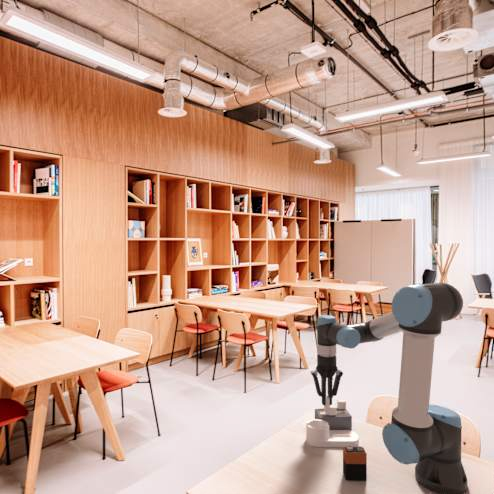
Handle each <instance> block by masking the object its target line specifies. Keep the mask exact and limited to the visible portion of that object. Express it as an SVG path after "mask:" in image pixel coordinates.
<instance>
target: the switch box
mask: <svg viewBox="0 0 494 494" xmlns="http://www.w3.org/2000/svg"><path fill="white" fill-rule="evenodd" d="M352 417H353V416H352V415H351V414H350V412H349V411H348V410H347V408H346V409H338V408H337V415H329V414H326V413H325V412H324V407H323V408H314V419H320V420H324V421H326V422H328V425H329V430H351V431H353V430H352V429H353V428H352V427H353V426H352V424H353V423H352V422H353V421H352V420H353V419H352Z"/></svg>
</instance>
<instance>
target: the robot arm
mask: <svg viewBox="0 0 494 494" xmlns="http://www.w3.org/2000/svg"><path fill="white" fill-rule="evenodd" d="M463 299H464V298H463V297H462V294H461V293H460V291H459V290H458V289H457V288H456V287H454V286H453V285H451V284H449V283H445V282H435V283H422V284H421V283H420V284H419V283H414V284H411V285H406V286H403V287H401V288H399V289H398V290H397V291H396V292H395V294H394V296H393V297H392V302H391V311H390V312H388V313H386V314H383V315H381V316H377V317H376V318H373V319H370V320H369V321H366V322H365V321H364V322H361V323H353V324H339V323H338V322H337V318H336V316H335V315H330V314H329V315H327V314H324V315H319V316H318V317H317V319H316V322H317V323H316V338H317V339H316V342H317V343H316V345H317V348H316V349H317V351H316V352H317V356H316V358H317V359H316V364H317V365H316V367H315V369H314V370H312V371H310V375H311V376H312V378H313V381H314V382H313V383H314V385H315V390H316V393H317V395H318V397H321V405H322V406H323V408H324V412H325V413H326V414H330V406H333V405H332V404H333V398H334V397H335V396H337V394H338V391H339V385H340V383H341V378H342V377H343V375H344V372H343V371H342V370H341V369H338V366H337V345H338V346H341V347H342V348H348V349H355V348H357V346H358V345H359V344H363V343H371V342H373V343H374V342H378V341H381V340H383V339H384V338H386V337H388V336H392V335H395V334H398V333H400V332H402V333H403V335H402V344H401V345H402V347H401V360H400V372H399V375H400V376H399V388H398V398H397V399H398V400H397V406H396V407H394V408H393V409H392V411H391V422H388V423H387V424H386V425H384V427H383V428H382V433H381V434H382V435H381V436H382V441H383V444H384V446H385V448H386V449H387V451H388V453H389V454H390V455H391V457H392V458H393V459H394V460H395V461H397V462H398V463H400V464H402V465H412V464H415V466H414V477H415V479H416V481H417V482H418V483H420V485H422V486H423V487H425V488H426V489H428V490H430V491H432V492H435V493H438V494H465V492H467V490H468V478H467V474H466V470H465V468H464V465H463V462H462V429H463V427H462V418H461V416H460V415H459V414H458V413H457V412H456V411H454V410H453V409H450V408H448V407H445V406H441V405H437V404H430V399H431V398H430V397H431V384H432V375H433V364H434V351H435V338H436V337H438V336H439V335H441V334H442V327H443V326H442V324H443V322H448V321H452V320H453V319H455V318H457V317H458V316H459V315H460V314H461V313H462V311H463V307H464V300H463ZM318 374H319V375H318ZM318 376H320V378H321V383H319V379H318ZM334 376H335V377H334ZM333 377H334V379H333ZM320 384H321V387H320Z"/></svg>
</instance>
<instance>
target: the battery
mask: <svg viewBox="0 0 494 494" xmlns="http://www.w3.org/2000/svg"><path fill="white" fill-rule="evenodd" d="M367 455H368V453H367V452H366V450H365V448H364V446H360V445H359V446H356V447H352V446H346V447H342V474H343V476H344V479H345V481H347V482H348V481H352V482H353V481H356V482H358V481H361V482H365V481H367V479H368V478H367V475H368V474H367V473H368V471H367V469H368V468H367V467H368V466H367Z"/></svg>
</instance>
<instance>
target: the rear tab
mask: <svg viewBox="0 0 494 494" xmlns="http://www.w3.org/2000/svg"><path fill="white" fill-rule="evenodd" d="M336 403H337V404H336V405H337V406H336V407H337V408H338V409H346V410H347V401H346V400H345V399H338V400H337V402H336Z"/></svg>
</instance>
